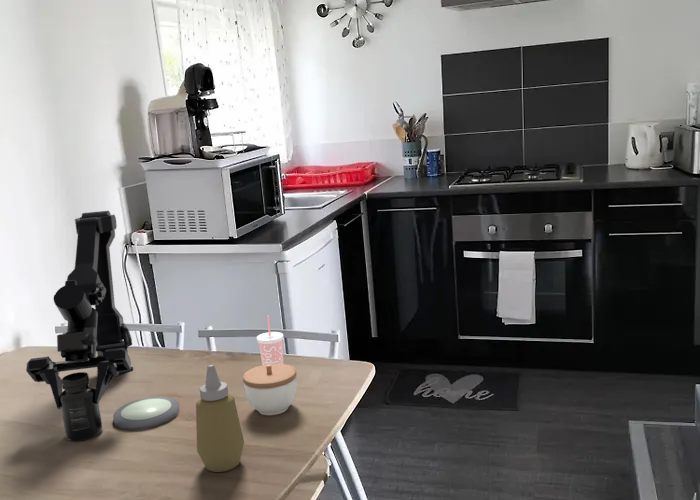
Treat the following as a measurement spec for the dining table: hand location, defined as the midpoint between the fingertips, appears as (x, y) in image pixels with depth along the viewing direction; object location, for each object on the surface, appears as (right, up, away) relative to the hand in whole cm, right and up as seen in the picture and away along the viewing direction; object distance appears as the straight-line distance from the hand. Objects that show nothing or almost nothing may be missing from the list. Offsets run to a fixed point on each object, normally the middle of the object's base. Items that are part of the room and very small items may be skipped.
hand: (77, 405), depth 132 cm
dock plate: (+11, -4, +9) cm, 15 cm away
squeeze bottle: (+30, -7, -13) cm, 34 cm away
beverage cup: (+35, +1, +27) cm, 44 cm away
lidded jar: (+37, -3, +7) cm, 38 cm away
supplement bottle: (0, -6, +3) cm, 7 cm away
